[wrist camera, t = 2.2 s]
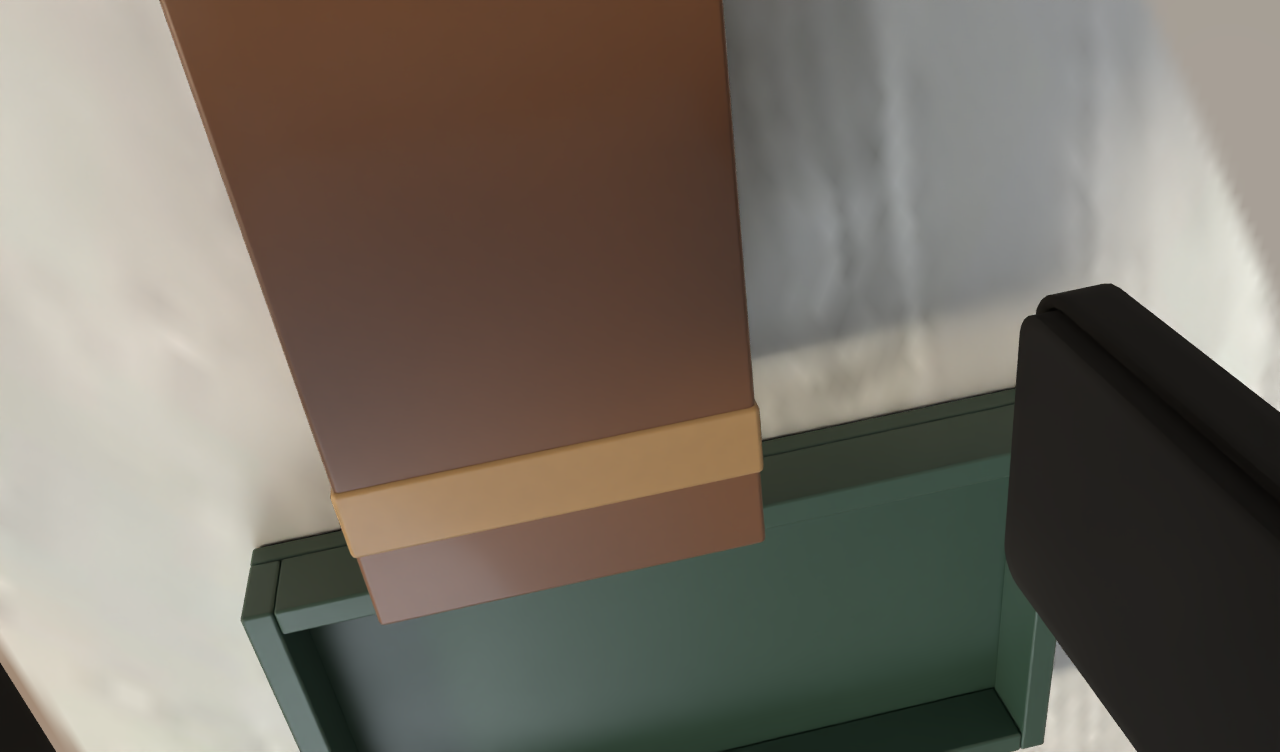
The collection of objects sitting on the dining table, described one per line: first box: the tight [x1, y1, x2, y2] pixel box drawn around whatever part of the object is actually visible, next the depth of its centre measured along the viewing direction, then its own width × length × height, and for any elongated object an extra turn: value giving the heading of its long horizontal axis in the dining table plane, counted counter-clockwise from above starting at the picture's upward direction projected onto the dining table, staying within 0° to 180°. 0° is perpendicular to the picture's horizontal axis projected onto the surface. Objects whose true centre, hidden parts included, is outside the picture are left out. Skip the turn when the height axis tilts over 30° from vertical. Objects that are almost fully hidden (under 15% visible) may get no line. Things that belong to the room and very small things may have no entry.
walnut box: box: [159, 0, 765, 625], centre depth 16 cm, size 11×6×5 cm, turn 7°
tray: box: [241, 388, 1056, 752], centre depth 24 cm, size 16×9×2 cm, turn 97°
